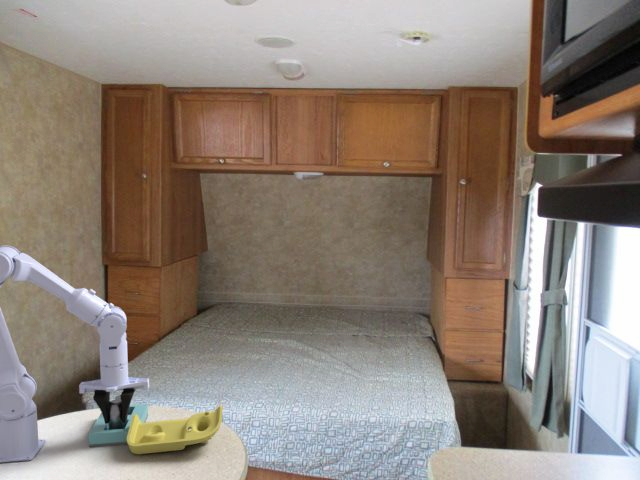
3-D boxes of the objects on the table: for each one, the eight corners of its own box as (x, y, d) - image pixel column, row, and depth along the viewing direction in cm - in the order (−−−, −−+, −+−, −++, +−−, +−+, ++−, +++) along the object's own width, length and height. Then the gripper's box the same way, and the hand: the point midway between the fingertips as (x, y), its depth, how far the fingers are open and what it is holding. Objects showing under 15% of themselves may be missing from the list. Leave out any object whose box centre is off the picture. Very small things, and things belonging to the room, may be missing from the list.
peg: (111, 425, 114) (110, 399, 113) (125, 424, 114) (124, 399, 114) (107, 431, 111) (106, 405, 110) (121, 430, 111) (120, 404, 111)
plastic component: (124, 447, 103) (134, 408, 112) (132, 468, 107) (141, 429, 116) (220, 437, 105) (223, 399, 113) (225, 458, 108) (227, 420, 117)
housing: (89, 447, 109) (88, 434, 108) (105, 418, 122) (105, 406, 122) (137, 443, 110) (136, 430, 110) (147, 415, 124) (147, 403, 124)
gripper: (73, 371, 106) (76, 431, 107) (144, 367, 108) (146, 426, 110) (83, 359, 113) (86, 417, 114) (150, 356, 115) (152, 412, 117)
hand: (116, 421), depth 113 cm, fingers open, 3 cm apart
